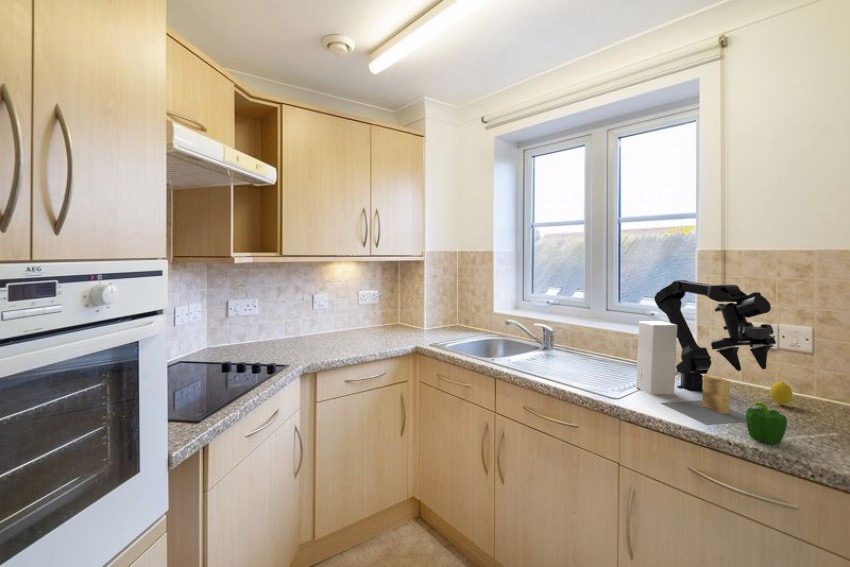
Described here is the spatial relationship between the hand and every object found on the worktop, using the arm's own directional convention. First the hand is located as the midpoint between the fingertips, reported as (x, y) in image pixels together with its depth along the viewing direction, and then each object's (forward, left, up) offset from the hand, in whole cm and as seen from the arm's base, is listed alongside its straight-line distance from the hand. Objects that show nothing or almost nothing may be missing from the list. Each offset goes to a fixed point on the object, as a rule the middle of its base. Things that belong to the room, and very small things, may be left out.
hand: (751, 370), depth 129 cm
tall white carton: (-22, -16, -13) cm, 30 cm away
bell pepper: (+18, -16, -13) cm, 28 cm away
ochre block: (-2, -11, -13) cm, 17 cm away
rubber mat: (-1, -15, -13) cm, 20 cm away
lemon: (-3, +15, -13) cm, 20 cm away
